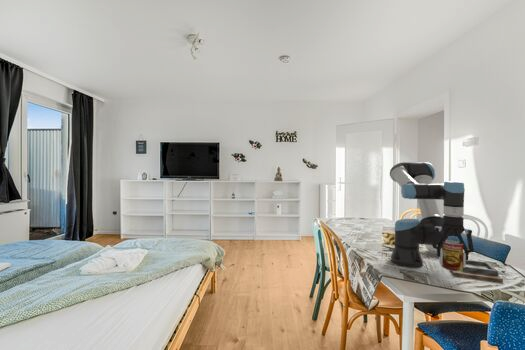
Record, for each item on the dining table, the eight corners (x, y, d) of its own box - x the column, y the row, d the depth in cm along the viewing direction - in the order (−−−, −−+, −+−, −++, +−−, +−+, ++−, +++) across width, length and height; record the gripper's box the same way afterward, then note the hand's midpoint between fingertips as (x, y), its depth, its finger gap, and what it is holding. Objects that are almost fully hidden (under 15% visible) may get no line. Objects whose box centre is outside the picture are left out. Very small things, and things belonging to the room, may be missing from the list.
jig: (453, 275, 124) (454, 268, 124) (445, 263, 140) (445, 257, 140) (502, 282, 116) (503, 274, 116) (488, 268, 133) (488, 261, 133)
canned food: (439, 267, 119) (440, 241, 119) (443, 263, 125) (444, 238, 124) (461, 272, 113) (461, 245, 113) (464, 267, 119) (464, 241, 118)
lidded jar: (442, 256, 152) (442, 240, 152) (421, 252, 160) (421, 237, 160) (447, 252, 159) (447, 237, 159) (427, 248, 167) (427, 234, 167)
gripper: (427, 215, 119) (426, 264, 120) (484, 218, 110) (483, 272, 111) (425, 212, 126) (424, 259, 127) (479, 215, 117) (477, 265, 118)
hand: (451, 265), depth 119 cm, fingers closed on canned food, 8 cm apart
